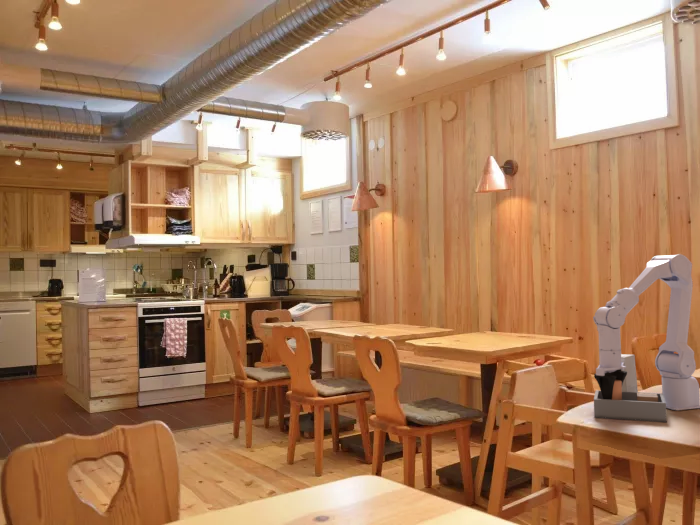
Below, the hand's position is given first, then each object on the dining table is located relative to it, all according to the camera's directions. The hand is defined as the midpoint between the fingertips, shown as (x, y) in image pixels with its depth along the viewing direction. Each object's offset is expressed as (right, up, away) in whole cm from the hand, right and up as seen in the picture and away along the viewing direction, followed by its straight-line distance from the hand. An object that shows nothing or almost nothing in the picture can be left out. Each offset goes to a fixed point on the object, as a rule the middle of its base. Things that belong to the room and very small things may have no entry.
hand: (611, 398), depth 174 cm
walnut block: (+8, -3, -4) cm, 10 cm away
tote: (+4, -4, -2) cm, 6 cm away
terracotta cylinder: (0, -2, 0) cm, 2 cm away
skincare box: (+7, -5, +11) cm, 14 cm away
